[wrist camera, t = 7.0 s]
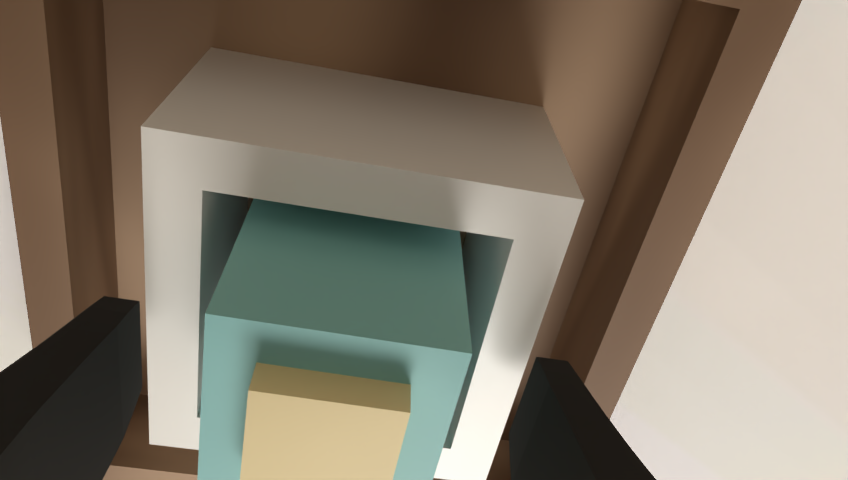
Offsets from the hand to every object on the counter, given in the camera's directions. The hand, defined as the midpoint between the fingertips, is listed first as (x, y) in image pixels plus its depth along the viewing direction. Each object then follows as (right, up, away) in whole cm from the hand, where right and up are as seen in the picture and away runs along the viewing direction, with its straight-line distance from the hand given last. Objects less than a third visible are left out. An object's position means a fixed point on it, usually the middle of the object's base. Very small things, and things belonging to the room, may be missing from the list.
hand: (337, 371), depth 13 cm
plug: (0, +3, +5) cm, 6 cm away
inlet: (0, +3, +5) cm, 6 cm away
